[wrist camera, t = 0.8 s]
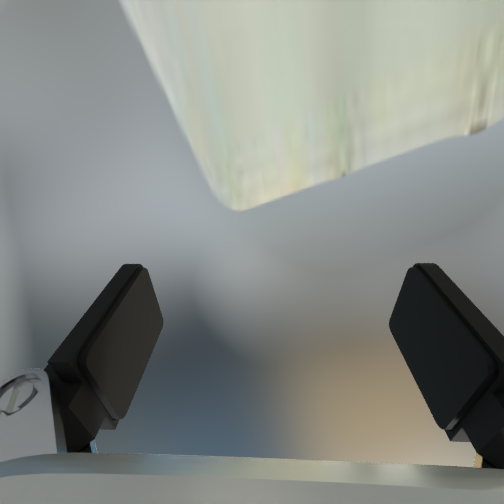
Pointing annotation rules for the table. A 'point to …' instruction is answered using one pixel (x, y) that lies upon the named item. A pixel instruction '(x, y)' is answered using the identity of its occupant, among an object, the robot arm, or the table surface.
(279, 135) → the table surface
